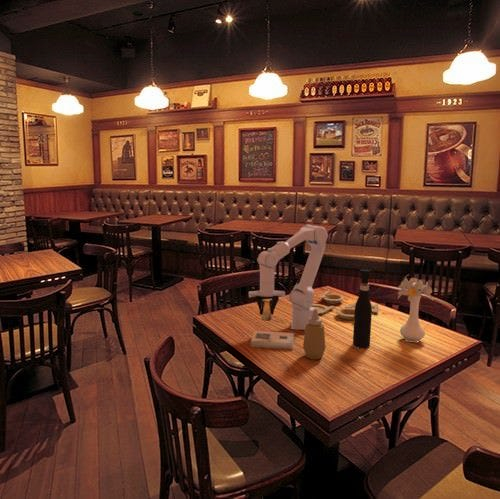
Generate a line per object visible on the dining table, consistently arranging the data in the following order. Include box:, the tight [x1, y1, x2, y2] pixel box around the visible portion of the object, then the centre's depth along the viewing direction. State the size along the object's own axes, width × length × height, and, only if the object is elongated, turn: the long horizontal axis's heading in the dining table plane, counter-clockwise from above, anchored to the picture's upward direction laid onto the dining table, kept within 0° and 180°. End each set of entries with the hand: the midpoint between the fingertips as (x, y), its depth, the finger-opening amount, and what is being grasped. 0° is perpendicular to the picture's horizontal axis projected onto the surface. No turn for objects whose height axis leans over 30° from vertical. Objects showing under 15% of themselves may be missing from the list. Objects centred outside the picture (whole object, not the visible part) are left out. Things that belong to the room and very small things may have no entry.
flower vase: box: [397, 277, 434, 342], centre depth 171 cm, size 13×18×25 cm
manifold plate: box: [250, 330, 295, 350], centre depth 170 cm, size 16×10×2 cm, turn 81°
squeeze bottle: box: [302, 309, 327, 360], centre depth 156 cm, size 8×8×18 cm
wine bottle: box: [352, 268, 373, 349], centre depth 165 cm, size 6×6×30 cm
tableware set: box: [311, 290, 380, 321], centre depth 209 cm, size 35×29×4 cm
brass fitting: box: [261, 298, 272, 322], centre depth 176 cm, size 4×4×8 cm
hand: (266, 313), depth 176 cm, fingers closed on brass fitting, 4 cm apart
